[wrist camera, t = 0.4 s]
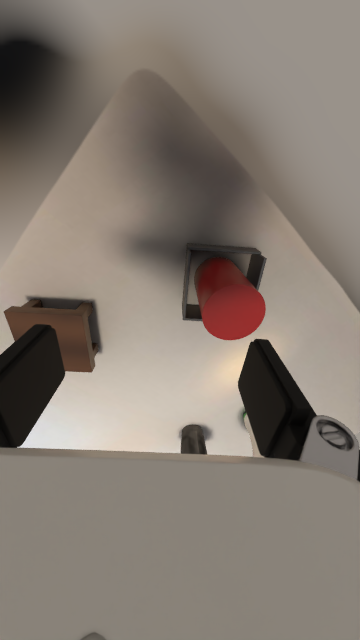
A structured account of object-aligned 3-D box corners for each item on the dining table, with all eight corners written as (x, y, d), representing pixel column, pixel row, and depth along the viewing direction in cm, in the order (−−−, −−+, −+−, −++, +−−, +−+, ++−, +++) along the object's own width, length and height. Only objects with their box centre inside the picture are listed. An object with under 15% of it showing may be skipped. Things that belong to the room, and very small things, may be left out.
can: (196, 255, 30) (206, 282, 20) (242, 258, 30) (273, 286, 20) (192, 297, 33) (198, 338, 23) (233, 300, 33) (256, 341, 23)
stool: (26, 296, 32) (3, 311, 28) (94, 300, 33) (81, 315, 28) (43, 349, 37) (25, 369, 33) (101, 352, 38) (91, 372, 33)
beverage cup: (169, 429, 48) (166, 558, 31) (196, 416, 46) (208, 547, 29) (188, 444, 51) (194, 569, 34) (214, 432, 49) (235, 560, 32)
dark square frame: (187, 243, 29) (188, 250, 25) (255, 248, 29) (267, 255, 25) (182, 305, 33) (182, 320, 29) (241, 309, 34) (249, 323, 30)
